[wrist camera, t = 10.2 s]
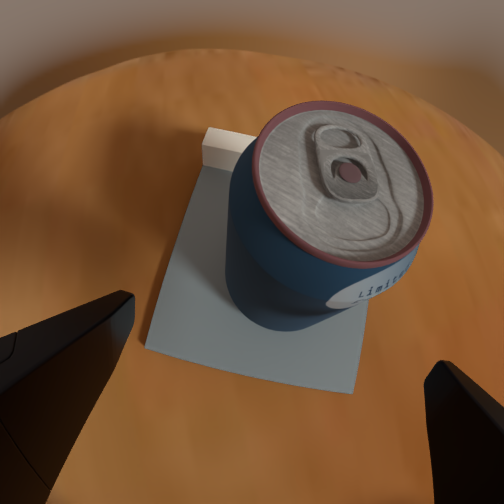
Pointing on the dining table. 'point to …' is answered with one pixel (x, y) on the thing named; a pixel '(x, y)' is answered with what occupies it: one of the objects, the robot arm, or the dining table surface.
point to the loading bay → (224, 309)
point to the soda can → (322, 214)
